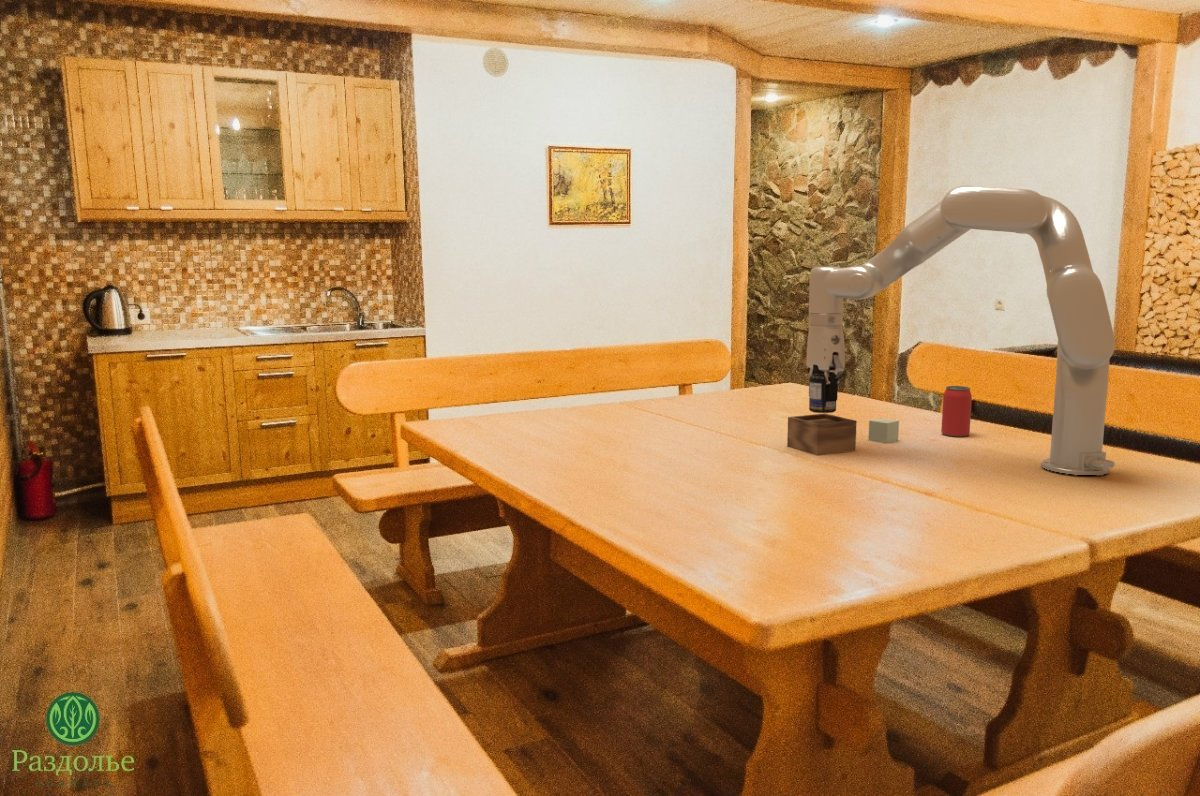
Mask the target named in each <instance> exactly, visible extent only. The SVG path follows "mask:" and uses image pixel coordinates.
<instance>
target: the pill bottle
mask: <svg viewBox="0 0 1200 796" xmlns="http://www.w3.org/2000/svg"><path fill="white" fill-rule="evenodd" d="M813 370H814V374H812V375H811V376H810V393H809V392H808V397H809V398H808V399H809V400H808V401H809V404H808V405H809V406H808V409H809V411H810V412H812V413H815V414H825V413H826V414H832V413H835V412H836V410H837V401H828V402H826V401H824V384H826V380H825V374H824V371H821V370H819V368H818V365H815V364H813ZM829 370H833V368H830V369H829ZM831 375H832V374H829V376H831Z"/></svg>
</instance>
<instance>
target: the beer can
mask: <svg viewBox="0 0 1200 796" xmlns="http://www.w3.org/2000/svg"><path fill="white" fill-rule="evenodd" d="M970 389H971V388H970V387H968V386H964V385H962V386H961V385H950V386H949V385H948V386H946V387H945V390H944V392H943V395H942V410H941V411H942V413H941V429H940V430H941V433H942V435H943V436H946V437H951V436H952V438H953V437H954V438H965V437H968V436H969V435H970V433H971V432H970V431H971V417H972V415H971V413H972V400H973V398H972V397H973V396H972V392H971V390H970Z"/></svg>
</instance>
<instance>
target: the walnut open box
mask: <svg viewBox="0 0 1200 796" xmlns="http://www.w3.org/2000/svg"><path fill="white" fill-rule="evenodd" d="M857 422H858V421H857V420H855V419H850V418H847V417H842V416H838V415H833V414H831V413H815V414H806V415H796V416H788V417H787V439H786V440H787V444H786V446H787V447H789V448H792V449H796V450H799V451H802V452H805V453H809V454H812V455H815V456H822V455H830V454H839V453H846V452H847V453H848V452H855V451H856V447H857V446H856V443H857Z"/></svg>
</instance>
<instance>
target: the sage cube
mask: <svg viewBox="0 0 1200 796" xmlns="http://www.w3.org/2000/svg"><path fill="white" fill-rule="evenodd" d="M899 425H900V421H899V420H897V419H888V418H883V417H882V418H881V417H880V418H875V419H871V420H869V421H868V440H867V441H871V442H876V443H882V444H890V443H894V442H898V441H899V430H900V428H899V427H900V426H899Z"/></svg>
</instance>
